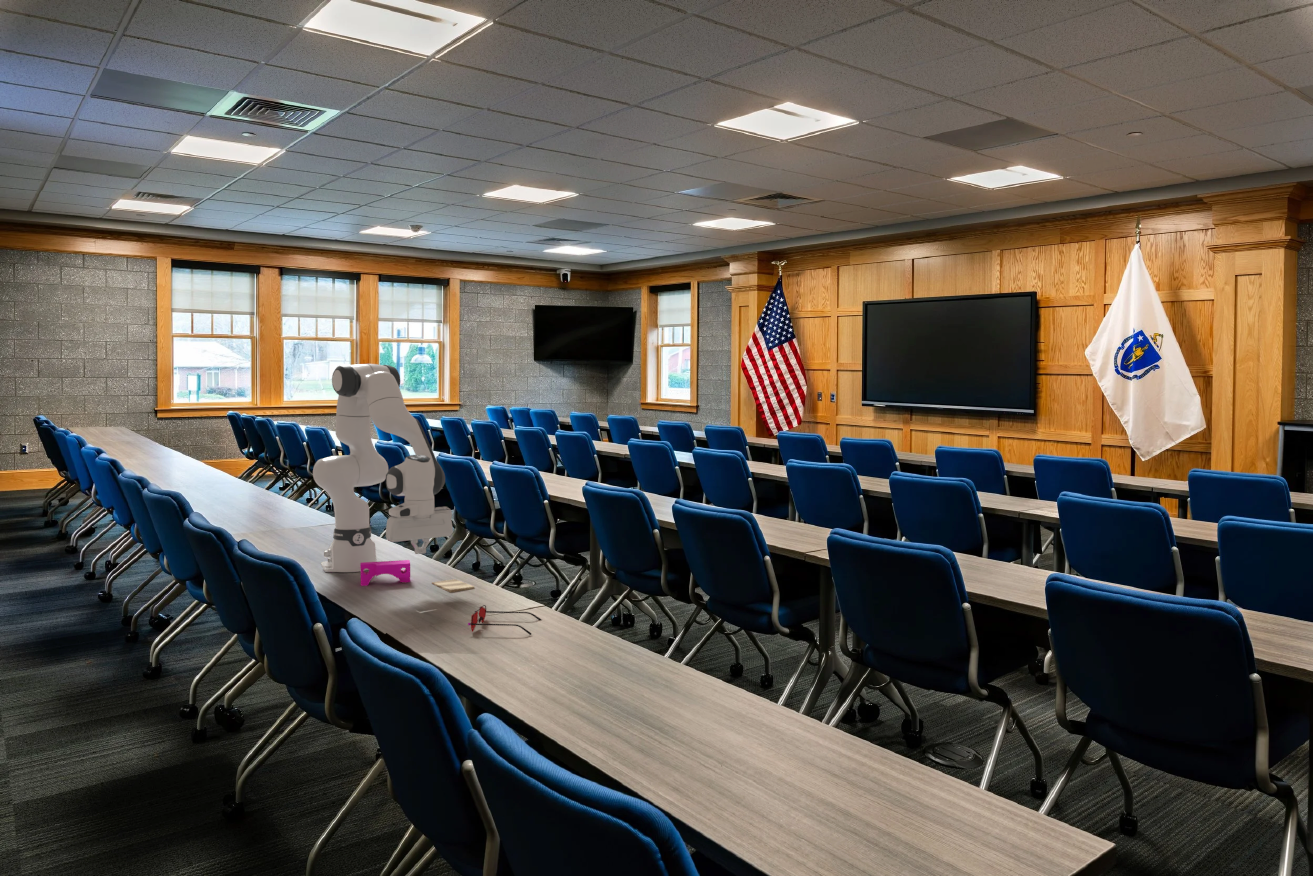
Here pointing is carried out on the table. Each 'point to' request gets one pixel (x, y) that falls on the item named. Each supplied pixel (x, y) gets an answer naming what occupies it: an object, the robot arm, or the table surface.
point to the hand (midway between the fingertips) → (420, 553)
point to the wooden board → (453, 585)
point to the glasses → (482, 616)
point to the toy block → (385, 570)
